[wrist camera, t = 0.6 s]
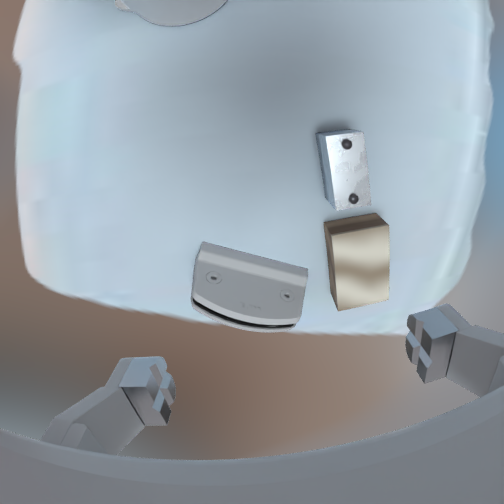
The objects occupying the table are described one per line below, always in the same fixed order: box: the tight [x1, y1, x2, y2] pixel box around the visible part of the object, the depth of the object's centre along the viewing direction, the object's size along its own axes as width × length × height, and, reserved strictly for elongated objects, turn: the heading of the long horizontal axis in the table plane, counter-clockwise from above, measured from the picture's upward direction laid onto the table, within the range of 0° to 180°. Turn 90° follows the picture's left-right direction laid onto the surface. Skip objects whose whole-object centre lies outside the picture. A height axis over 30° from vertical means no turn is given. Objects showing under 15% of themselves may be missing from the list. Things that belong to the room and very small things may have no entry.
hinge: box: [191, 242, 308, 332], centre depth 43 cm, size 17×5×10 cm, turn 74°
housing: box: [315, 129, 371, 211], centre depth 36 cm, size 9×5×6 cm, turn 12°
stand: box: [324, 213, 390, 311], centre depth 43 cm, size 12×8×5 cm, turn 12°
